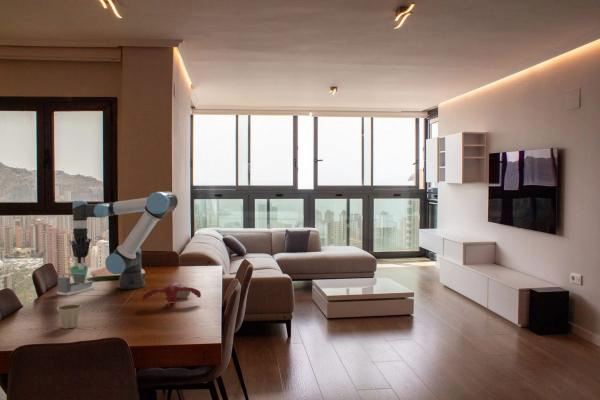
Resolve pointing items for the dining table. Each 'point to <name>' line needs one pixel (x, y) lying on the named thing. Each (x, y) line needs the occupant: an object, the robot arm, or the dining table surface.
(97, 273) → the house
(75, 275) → the purple-grey block
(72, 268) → the mug
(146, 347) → the dining table surface
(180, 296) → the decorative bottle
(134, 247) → the robot arm
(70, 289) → the gauge housing
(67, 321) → the flower pot
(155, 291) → the decorative bird sculpture
